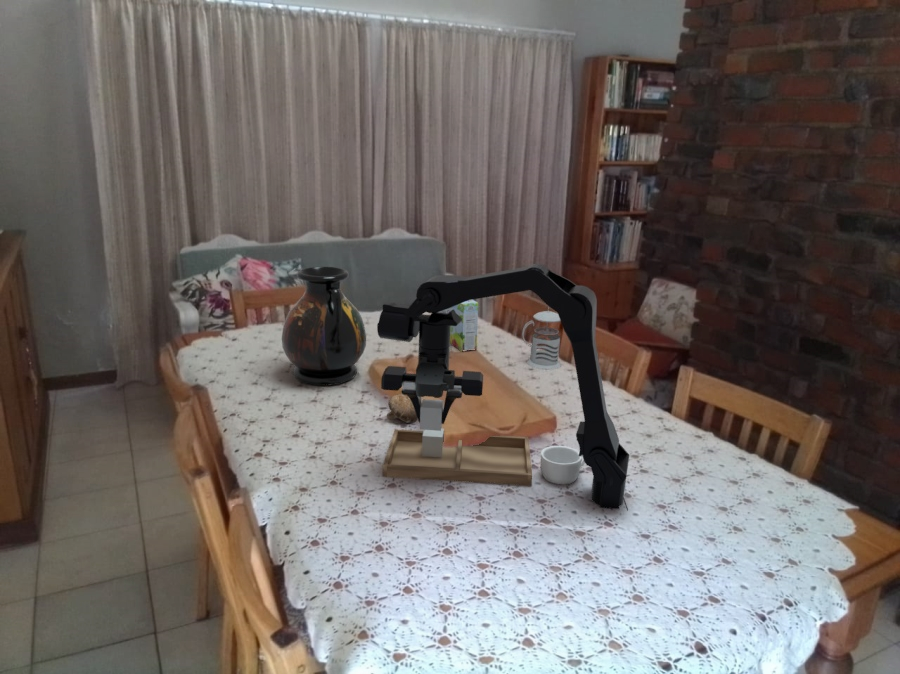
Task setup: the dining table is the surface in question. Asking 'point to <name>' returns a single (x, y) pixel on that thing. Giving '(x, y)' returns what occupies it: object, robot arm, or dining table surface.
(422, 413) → the light grey cube
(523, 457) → the divided tray
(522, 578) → the dining table surface
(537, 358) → the french press
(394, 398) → the mushroom
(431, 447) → the grey cube
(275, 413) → the dining table surface
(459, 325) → the snack box
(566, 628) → the dining table surface
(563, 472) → the teacup
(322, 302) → the amphora vase
